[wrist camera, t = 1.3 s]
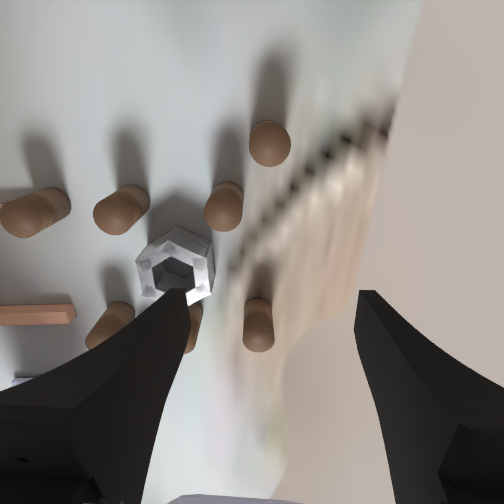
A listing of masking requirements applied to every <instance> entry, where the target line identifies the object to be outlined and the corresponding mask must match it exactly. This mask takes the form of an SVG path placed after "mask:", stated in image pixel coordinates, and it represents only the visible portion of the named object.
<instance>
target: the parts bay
mask: <svg viewBox="0 0 504 504" xmlns="http://www.w3.org/2000/svg"><path fill="white" fill-rule="evenodd" d="M3 205H4V204H0V208H1V207H2V206H3ZM0 224H1V222H0ZM75 316H76V312H75V309H74V306H73V304H49V305H13V306H0V326H3V325H41V324H70V322H71V321H72V320H73V319H74V318H75Z"/></svg>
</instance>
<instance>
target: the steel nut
mask: <svg viewBox="0 0 504 504" xmlns="http://www.w3.org/2000/svg"><path fill="white" fill-rule="evenodd" d="M212 244H213V243H212V242H211V241H207V240H205V239H203V238H201V237H199V236H197V235H195V234H193V233H191V232H189V231H187V230H185V229H182V228H180V226H176V227H175V228H174V229H172V230H171V231H169V232H168V233H166V234H164V235H163V236H161V237H160V238H158V239H156V240H155V241H153V242H152V243H148V244H147V246H146V247H145V248H144V249H143V251H142V252H141V253H140V255H139V256H138V257H137V258H136V261H135V262H136V264H137V268H138V273H139V278H140V283H141V288H142V293H143V294H142V296H143V297H147V298H149V299H152V300H154V301H156V300H157V299H159V298H160V297H161V296H162V295H163V294H164V293H165V292H167V291H168V290H169V289H170V288H185V292H186V298H187V303H188V306H189V305H191V304H193V303H195V302H196V301H198V300H200V299H202V298H204V297H205V296H207V295H210V294H211V292H212V288H213V283H214V279H215V275H216V274H215V273H214V263H213V253H212ZM170 256H171V257H174V258H176V259H178V260H180V261H182V262H184V263H187V264H189V265H191V266H193V269H194V274H192V275H190V276H189V277H187V278H182V277H180V276H178V275H176V274H174V273H171V272H169V271H167V270H165V264H164V260H165V259H167V258H168V257H170Z"/></svg>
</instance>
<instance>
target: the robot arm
mask: <svg viewBox="0 0 504 504" xmlns="http://www.w3.org/2000/svg"><path fill="white" fill-rule="evenodd" d="M190 330H191V320H190V314H189V309H188V303H187V298H186V292H185V288H170V289H169V290H168V291H167V292H165V293H164V294H163V295H162V296H161V297H160V298H159V299H157V300H156V301H155V302H154V303H153V304H152V305H151V306H149V307H148V308H147V309H146V310H145V311H144V312H142V313H141V314H140V315H139V316H138V317H136V318H135V319H134V320H132V321H131V322H130V323H129V324H127V325H126V326H125V327H123V328H122V329H121V330H119V331H118V332H117V333H115V334H114V335H112V336H111V337H110V338H108V339H107V340H105V341H103V342H102V343H100V344H99V345H97V346H96V347H94V348H92V349H91V350H89V351H87V352H85V353H83V354H82V355H80V356H78V357H76V358H75V359H73V360H71V361H69V362H67V363H65V364H63V365H61V366H59V367H57V368H55V369H53V370H51V371H49V372H46V373H44V374H42V375H40V376H38V377H35V378H15V379H14V380H13V381H12V382H11V385H12V387H11V388H8V389H5V390H3V391H0V504H141V500H142V495H143V490H144V485H145V481H146V477H147V472H148V468H149V463H150V459H151V455H152V451H153V447H154V443H155V439H156V435H157V431H158V427H159V423H160V420H161V416H162V412H163V409H164V405H165V402H166V399H167V396H168V393H169V391H170V388H171V386H172V383H173V380H174V378H175V375H176V373H177V370H178V368H179V365H180V362H181V360H182V357H183V354H184V352H185V349H186V346H187V342H188V338H189V334H190ZM354 333H355V339H356V344H357V349H358V353H359V356H360V359H361V363H362V366H363V369H364V372H365V375H366V378H367V381H368V384H369V387H370V390H371V393H372V396H373V399H374V402H375V406H376V409H377V413H378V417H379V421H380V426H381V430H382V435H383V439H384V444H385V449H386V454H387V459H388V464H389V469H390V475H391V480H392V485H393V491H394V496H395V502H396V504H504V388H503V387H501V386H500V385H498V384H496V383H494V382H492V381H490V380H489V379H487V378H485V377H483V376H482V375H480V374H478V373H477V372H475V371H474V370H472V369H470V368H468V367H467V366H465V365H464V364H462V363H461V362H459V361H457V360H456V359H455V358H453V357H452V356H450V355H449V354H447V353H446V352H445V351H443V350H442V349H440V348H439V347H438V346H436V345H435V344H434V343H432V342H431V341H430V340H429V339H427V338H426V337H425V336H424V335H423V334H421V333H420V332H419V331H418V330H416V329H415V328H414V327H413V326H412V325H411V324H410V323H408V322H407V321H406V320H405V319H404V318H403V317H402V316H401V315H400V314H399V313H397V311H395V309H394V308H392V307H391V306H390V305H389V304H388V303H387V302H386V301H385V300H384V299H383V298H382V297H381V296H380V295H379V294H378V293H377V292H376V291H375V290H359V296H358V303H357V310H356V317H355V324H354ZM168 504H301V503H296V502H291V501H283V500H271V499H257V498H244V497H230V496H216V495H202V494H195V495H182V496H180V497H178V498H176V499H174V500H172V501H171V502H169V503H168Z"/></svg>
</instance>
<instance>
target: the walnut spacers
mask: <svg viewBox="0 0 504 504" xmlns="http://www.w3.org/2000/svg"><path fill="white" fill-rule="evenodd" d="M290 148H291V141H290V137H289V134H288V133H287V131H286V130H285V129H284V128H283V127H282V126H280V125H278V124H277V123H275V122H273V121H262V122H260V123H258V124H257V125H256V126H255V127H254V128H253V129H252V131H251V134H250V141H249V149H250V153H251V155H252V157H253V159H254V160H255V161H256V162H257V163H259V164H260V165H262V166H266V167H273V166H277V165H279V164H281V163H282V162H283V161H284V160H285V159H286V158H287V156H288V154H289V152H290ZM243 200H244V196H243V192H242V190H241V188H240V187H239V186H238V185H236V184H235V183H233V182H222V183H219V184H218V185H216V186H215V188H214V189H213V191H212V193H211V195H210V197H209V199H208V201H207V203H206V205H205V208H204V218H205V220H206V222H207V224H208V225H209V226H210V227H211V228H213V229H214V230H217V231H220V232H227V231H231V230H233V229H234V228H236V227H237V226H238V225H239V223H240V221H241V218H242V210H243ZM149 207H150V198H149V196H148V194H147V192H146V191H145V190H144V189H142V188H141V187H139V186H137V185H127V186H124V187H123V188H121V189H119V190H118V191H116V192H114V193H113V194H111V195H109V196H108V197H106V198H105V199H103V200H101V201H100V202H98V203H97V204H96V206H95V207H94V210H93V217H94V221H95V223H96V224H97V226H98V227H99V228H100V229H101V230H102V231H104V232H105V233H108V234H111V235H121V234H123V233H125V232H126V231H128V230H129V229H130V228H131V227H132V226H133V225H134V224H135V223H136V222H137V221H138V220H139V219H140V218H141V217H142V216H143V215H144V214H145V213H146V212H147V211H148V209H149ZM70 210H71V203H70V200H69V198H68V197H67V196H66V194H65V193H63V192H62V191H61V190H59V189H56V188H52V187H49V188H45V189H42V190H40V191H37V192H34V193H32V194H29V195H27V196H24V197H21V198H19V199H16V200H13V201H11V202H8V203H6V204H4V205H3V206H2V207H1V208H0V222H1V224H2V226H3V227H4V228H5V229H6V230H7V231H8V232H9V233H10V234H12V235H14V236H16V237H20V238H28V237H31V236H33V235H35V234H37V233H38V232H40V231H42V230H43V229H45V228H47V227H49V226H50V225H52V224H54V223H56V222H57V221H59V220H61V219H63V218H64V217H66V216H67V215H68V214H69V213H70ZM188 309H189V314H190V320H191V330H190V334H189V338H188V342H187V346H186V349H185V352H184V354H186V353H189V352H191V351H192V350H193V349H194V347H195V345H196V340H197V336H198V332H199V328H200V324H201V320H202V316H203V309H202V307H201V305H200V304H199V303H197V302H195V303H193V304H191V305H189V306H188ZM134 318H135V312H134V309H133V308H132V307H131V306H130V305H129V304H127V303H124V302H114V303H112V304H110V305H109V307H108V308H107V310H106V311H105V312H104V314H103V315H102V316H101V318H100V319H99V321H98V322H97V323H96V325H95V326H94V327H93V329H92V330H91V331H90V333H89V334H88V336H87V337H86V340H85V342H86V346H87V348H88V349H89V350H91V349H92V348H94V347H96V346H97V345H99V344H100V343H102V342H103V341H105V340H107V339H108V338H110V337H111V336H112V335H114V334H115V333H117V332H118V331H119V330H121V329H122V328H123V327H125V326H126V325H127V324H129V323H130V322H131V321H132V320H134ZM274 340H275V339H274V328H273V317H272V307H271V305H270V303H269V302H268V301H267V300H265V299H263V298H253V299H251V300H249V301H248V302H247V303H246V304H245V307H244V325H243V343H244V345H245V347H246V348H247V349H249V350H250V351H253V352H264V351H267V350H269V349H270V348H271V347H272V346H273V344H274Z"/></svg>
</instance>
